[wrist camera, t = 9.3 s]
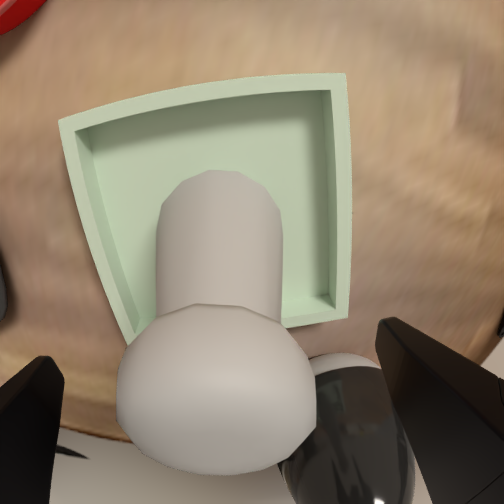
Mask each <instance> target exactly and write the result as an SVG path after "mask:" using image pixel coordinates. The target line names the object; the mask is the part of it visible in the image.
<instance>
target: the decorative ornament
mask: <svg viewBox="0 0 504 504" xmlns="http://www.w3.org/2000/svg"><path fill="white" fill-rule="evenodd" d="M45 1H46V0H0V35H2V34H4V33H6V32H8V31H10V30H12V29H13V28H15V27H17V26H18V25H20V24H21V23H23V22H24V21H25V20H26V19H28V18H29V17H30V16H31V15H32V14H33V13H34V12H35V11H37V10H38V9H39V8H40V7H41V6H42V5H43V3H44V2H45Z"/></svg>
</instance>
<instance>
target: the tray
mask: <svg viewBox="0 0 504 504" xmlns="http://www.w3.org/2000/svg"><path fill="white" fill-rule="evenodd" d="M58 124H59V129H60V135H61V140H62V145H63V150H64V155H65V159H66V164H67V168H68V172H69V177H70V181H71V185H72V189H73V193H74V197H75V200H76V204H77V208H78V211H79V215H80V218H81V222H82V225H83V228H84V231H85V235H86V238H87V241H88V244H89V247H90V250H91V253H92V256H93V259H94V262H95V265H96V268H97V271H98V273H99V276H100V279H101V282H102V284H103V287H104V290H105V292H106V295H107V297H108V300H109V303H110V305H111V308H112V310H113V312H114V315H115V317H116V320H117V322H118V324H119V327H120V329H121V331H122V334H123V336H124V338H125V340H126V343H127V345H129V344H130V343H131V342H132V341H133V340H134V339H135V338H136V337H137V336H138V335H139V334H140V333H141V332H142V331H143V330H144V329H145V328H146V327H147V326H148V325H149V324H150V323H151V322H152V321H153V320H154V319H155V318H156V229H157V224H158V219H159V214H160V210H161V205H162V203H163V202H164V201H165V200H166V199H167V197H168V196H169V195H170V194H171V193H172V192H173V190H174V189H175V188H176V187H177V186H178V185H179V184H180V182H182V181H183V180H186V179H188V178H190V177H193V176H195V175H198V174H200V173H203V172H205V171H208V170H222V171H237V172H240V173H241V174H243V175H245V176H247V177H249V178H250V179H252V180H254V181H256V182H257V183H259V184H261V185H263V186H264V187H265V188H266V189H267V191H268V192H269V194H270V196H271V197H272V199H273V200H274V202H275V203H276V205H277V206H278V208H279V209H280V213H281V221H282V230H283V275H282V309H281V324H282V325H283V326H284V327H285V328H290V327H297V326H303V325H309V324H315V323H321V322H326V321H332V320H337V319H343V318H348V306H349V290H350V271H351V243H352V169H351V142H350V123H349V108H348V95H347V84H346V74H345V73H306V74H285V75H270V76H258V77H248V78H239V79H230V80H223V81H215V82H209V83H202V84H196V85H190V86H185V87H179V88H174V89H169V90H164V91H159V92H155V93H150V94H146V95H141V96H137V97H133V98H129V99H125V100H121V101H118V102H114V103H110V104H107V105H103V106H100V107H96V108H93V109H90V110H87V111H84V112H80V113H77V114H74V115H71V116H68V117H65V118H63V119H60V120H58Z"/></svg>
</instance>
